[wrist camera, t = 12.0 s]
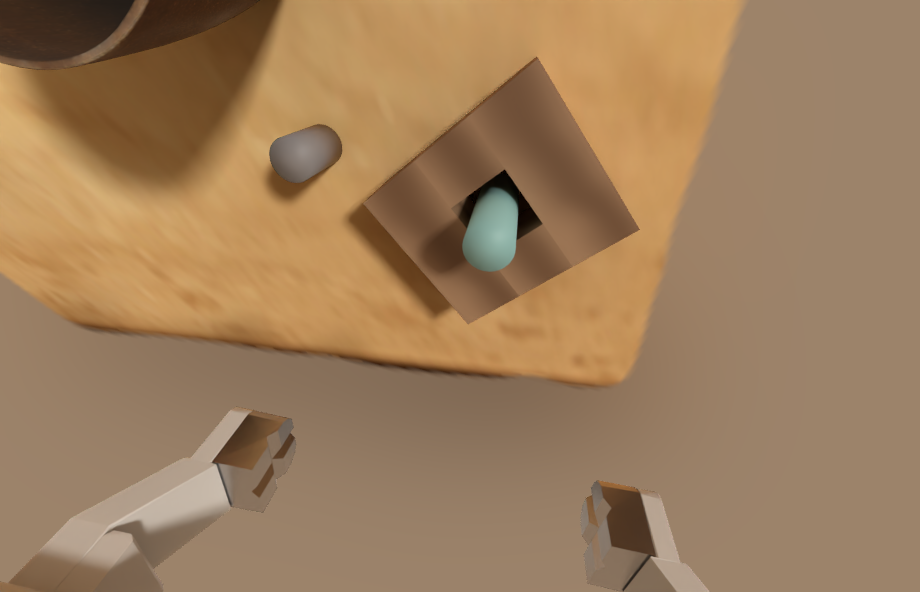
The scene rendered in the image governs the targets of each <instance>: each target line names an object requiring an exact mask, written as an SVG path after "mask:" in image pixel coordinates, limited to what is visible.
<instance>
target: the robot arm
mask: <svg viewBox="0 0 920 592" xmlns="http://www.w3.org/2000/svg"><path fill="white" fill-rule="evenodd" d="M292 429H293V422H292V419H290V418H286V417H281V416H276V415H272V414H267V413H263V412H258V411H255V410H250V409H245V408H240V407H235V408H233V409H232V410H230V411H229V412H228V413H227V414H226V416H225V417H224V418H223V419H222V420H221V422H220V423H219V424H218V425H217V427H216V428H215V429H214V430H213V431H212V433H211V434H210V435H209V436H208V437H207V439H206V440H205V441H204V442H203V443H202V445H201V446H200V447H199V448H198V450H197V451H196V452H195V453H194V454H193V456H192V457H191V458H186V457H184V458H182V459H181V460H179V461H177V462H175V463H173V464H171V465H169V466H167V467H166V468H164V469H162V470H160V471H158V472H156V473H154V474H153V475H151V476H149V477H147V478H145V479H143V480H141V481H139V482H138V483H136V484H134V485H132V486H130V487H128V488H127V489H125V490H123V491H121V492H119V493H117V494H115V495H113V496H111V497H110V498H108V499H106V500H104V501H102V502H100V503H99V504H97V505H95V506H93V507H91V508H89V509H87V510H85V511H83V512H82V513H80V514H78V515H76V516H74V517H72V518H71V519H70V520H69V521H68V522H67V523H66V524H65V525H64V526H63V527H62V528H61V529H60V530H59V531H58V532H57V533H56V534H55V535H54V537H52V538H51V539H50V540H49V541H48V542H47V543H46V545H44V546H43V547H42V548H41V550H40V551H39V552H38V553H37V554H36V555H35V556H34V557H33V558H32V559H31V560H30V561H29V562H28V563H27V564H26V565H25V566H24V567H23V568H22V569H21V570H20V571H19V572H18V573H17V574H16V575H15V576H14V577H13V578H12V579H11V580H10V581H9V583H5V582H1V581H0V592H163V584H162V582H161V580H160V579H159V577H158V576H157V574H156V573H155V571H154V570H153V569H154V568H155V567H156V566H158V565H159V564H160V563H162V562H163V561H164V560H166V559H167V558H168V557H169V556H171V555H172V554H173V553H175V552H176V551H177V550H178V549H180V548H181V547H182V546H184V545H185V544H186V543H187V542H189V541H190V540H191V539H193V538H194V537H195V536H196V535H198V534H199V533H200V532H202V531H203V530H204V529H205V528H207V527H208V526H210V525H211V524H212V523H213V522H215V521H216V520H217V519H219V518H220V517H221V516H222V515H224V514H225V513H226V512H228V511H229V510H230V509H231V507H235V508H240V509H246V510H251V511H256V512H262V513H263V512H264V510H265V509H266V507H267V505H268V504H269V502H270V500H271V498H272V497H273V495H274V493H275V491H276V489H277V484H276V479H277V478H279V477H281V476H282V475H284V474H285V473H286V472H287V470H288V468H289V466H290V465H291V463H292V460H293V457H294V454H295V449H296V440H295V437H294V436H293V435H292V434H291V433H290V432H291V430H292ZM591 490H592V495H591V496H589V497H587V498H586V499H585V501H584V504H583V507H582V512H581V532H582V537H583V538H584V539H585V541H586V542H587V544H588V545H589V546H588V548H587V550H586V551H585V553H584V558H585V568H586V576H587V583H588V584H592V585H596V586H600V587H604V588H608V589H612V590H616V591H620V592H709V591H708V589H707V588H706V587H705V586H704V585H703V583H702V582H701V581H700V580H699V578H698V577H697V576H696V575H695V573H694V572H693V571H692V570H691V569H690V567H689V566H688V565H687V564H685V563H681V562H680V559H679V556H678V553H677V550H676V546H675V543H674V539H673V536H672V533H671V530H670V526H669V523H668V520H667V517H666V513H665V510H664V507H663V503H662V500H661V497H660V496H659V494H658V493H656V492H653V491H648V490H642V489H637V488H635V487H630V486H625V485H619V484H614V483H609V482H603V481H596V482H594V484H593V486H592V487H591Z"/></svg>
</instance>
